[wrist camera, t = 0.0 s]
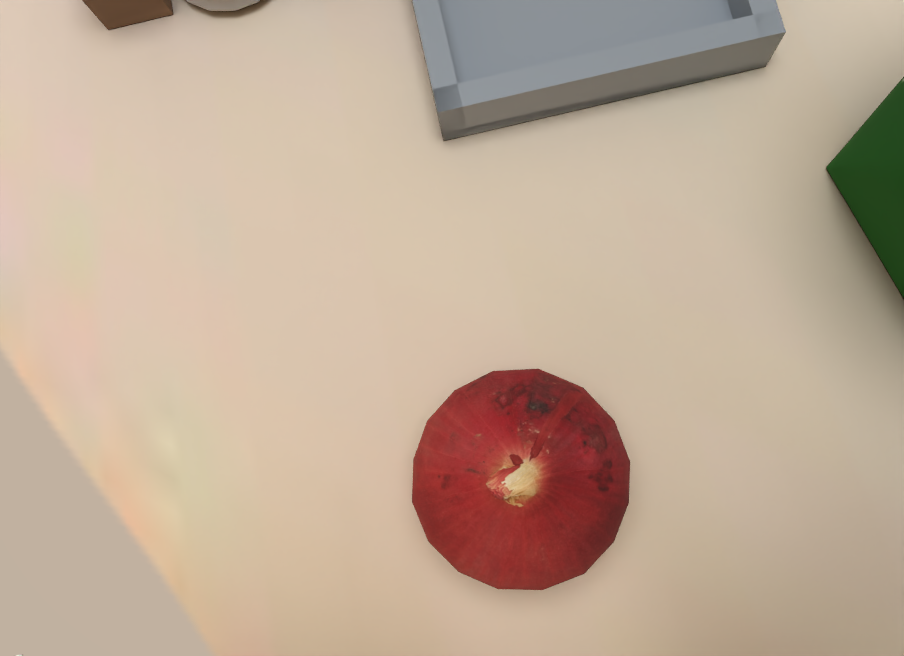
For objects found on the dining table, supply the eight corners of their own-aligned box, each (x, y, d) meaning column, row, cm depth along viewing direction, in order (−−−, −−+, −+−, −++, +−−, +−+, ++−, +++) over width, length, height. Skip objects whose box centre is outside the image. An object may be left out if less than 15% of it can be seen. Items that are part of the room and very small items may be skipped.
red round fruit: (469, 359, 28) (451, 306, 20) (641, 427, 27) (692, 400, 19) (398, 531, 27) (349, 546, 19) (573, 607, 26) (598, 656, 18)
